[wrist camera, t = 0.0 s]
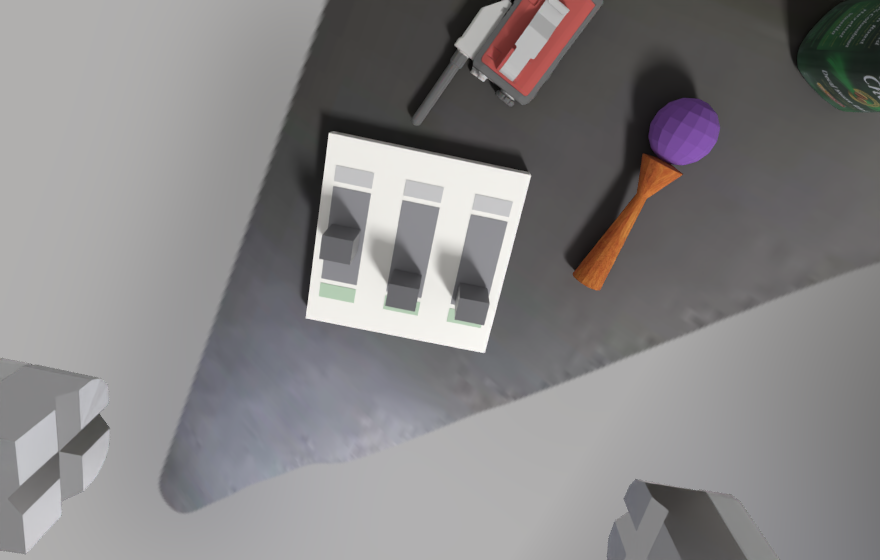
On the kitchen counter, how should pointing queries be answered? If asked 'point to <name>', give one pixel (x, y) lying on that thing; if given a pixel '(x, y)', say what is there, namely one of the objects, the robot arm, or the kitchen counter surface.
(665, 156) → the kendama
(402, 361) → the kitchen counter surface
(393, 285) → the block
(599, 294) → the kitchen counter surface
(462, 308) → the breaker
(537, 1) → the walkie-talkie
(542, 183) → the kitchen counter surface
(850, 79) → the coffee jar
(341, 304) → the breaker panel
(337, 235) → the block
